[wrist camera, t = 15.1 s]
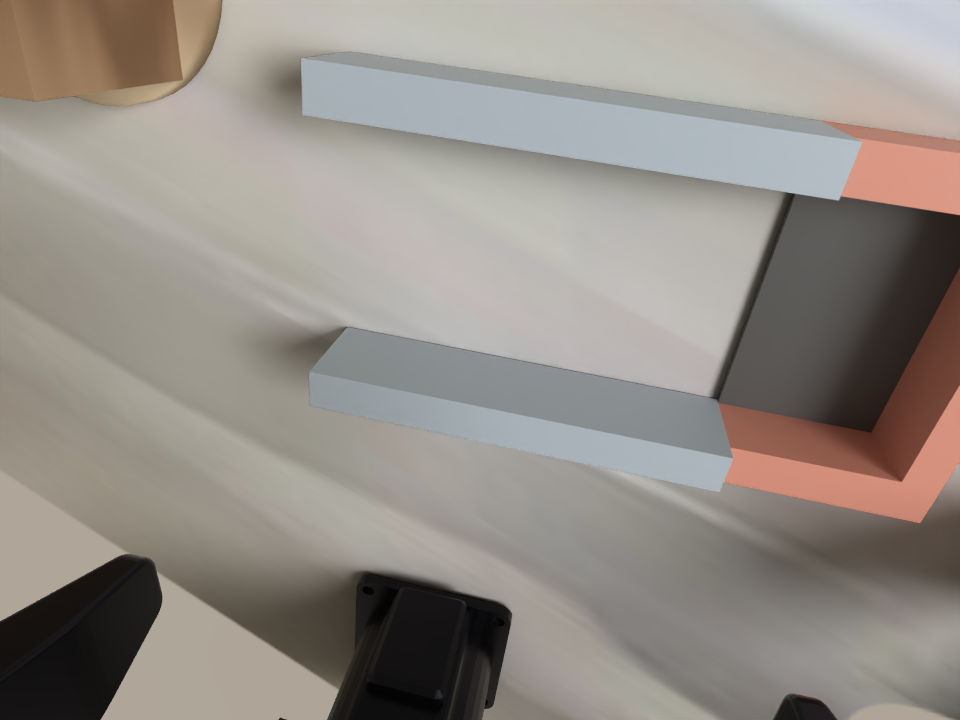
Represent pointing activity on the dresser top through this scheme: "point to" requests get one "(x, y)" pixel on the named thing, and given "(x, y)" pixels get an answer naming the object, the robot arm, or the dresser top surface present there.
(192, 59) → the cork coaster
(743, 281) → the dresser top surface
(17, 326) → the dresser top surface
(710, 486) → the channel
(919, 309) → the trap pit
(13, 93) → the walnut block
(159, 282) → the dresser top surface
